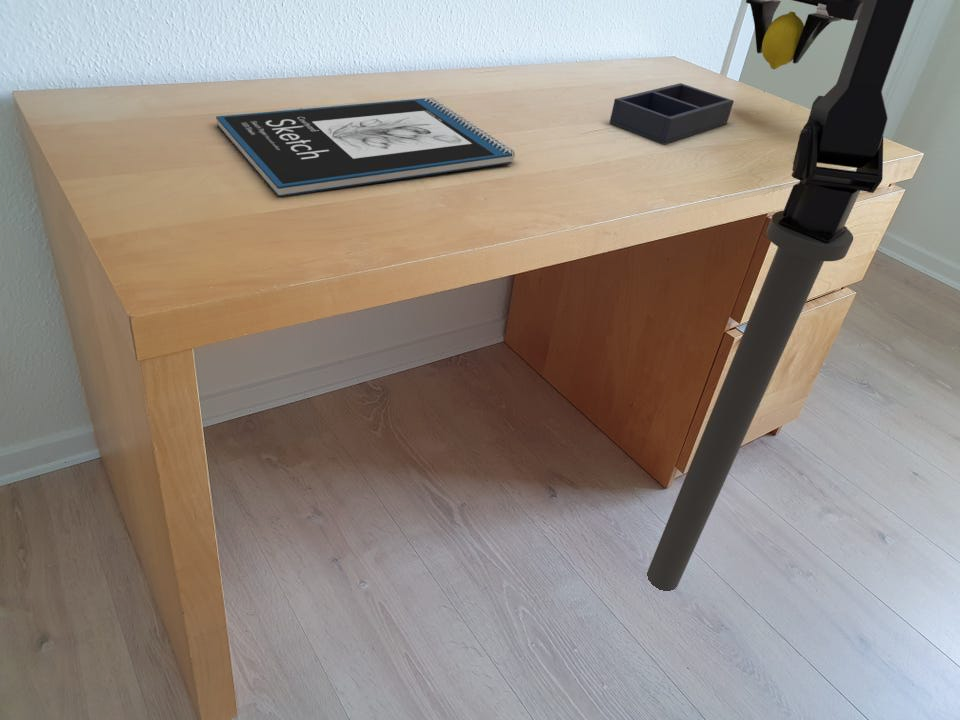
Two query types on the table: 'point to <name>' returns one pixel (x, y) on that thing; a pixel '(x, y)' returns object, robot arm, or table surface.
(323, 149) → the sketchbook
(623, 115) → the holder
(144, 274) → the table surface
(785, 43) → the lemon
